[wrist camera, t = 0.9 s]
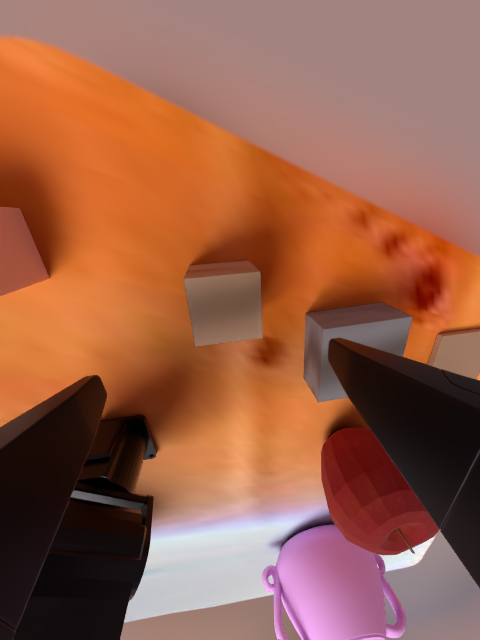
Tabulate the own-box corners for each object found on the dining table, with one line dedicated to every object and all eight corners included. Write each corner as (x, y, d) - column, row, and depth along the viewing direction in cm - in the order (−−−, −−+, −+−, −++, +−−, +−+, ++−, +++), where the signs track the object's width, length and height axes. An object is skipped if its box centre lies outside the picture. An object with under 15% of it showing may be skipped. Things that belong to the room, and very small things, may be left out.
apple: (391, 404, 29) (497, 511, 18) (367, 460, 33) (442, 572, 22) (310, 409, 27) (375, 528, 17) (296, 466, 32) (341, 590, 21)
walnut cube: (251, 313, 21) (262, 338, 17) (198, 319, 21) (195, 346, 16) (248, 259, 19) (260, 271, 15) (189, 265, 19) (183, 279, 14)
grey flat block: (368, 365, 26) (394, 389, 22) (302, 376, 25) (318, 402, 22) (380, 301, 23) (412, 316, 19) (304, 311, 22) (323, 329, 19)
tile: (471, 375, 29) (476, 378, 28) (421, 383, 28) (425, 386, 27) (493, 326, 26) (499, 328, 25) (437, 333, 25) (442, 336, 25)
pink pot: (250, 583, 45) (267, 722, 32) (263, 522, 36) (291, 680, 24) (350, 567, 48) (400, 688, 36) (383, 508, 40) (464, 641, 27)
